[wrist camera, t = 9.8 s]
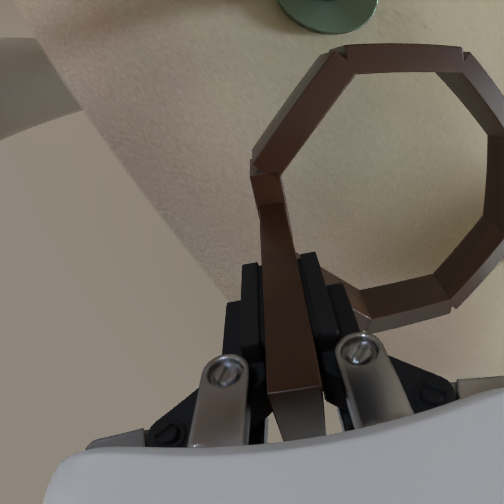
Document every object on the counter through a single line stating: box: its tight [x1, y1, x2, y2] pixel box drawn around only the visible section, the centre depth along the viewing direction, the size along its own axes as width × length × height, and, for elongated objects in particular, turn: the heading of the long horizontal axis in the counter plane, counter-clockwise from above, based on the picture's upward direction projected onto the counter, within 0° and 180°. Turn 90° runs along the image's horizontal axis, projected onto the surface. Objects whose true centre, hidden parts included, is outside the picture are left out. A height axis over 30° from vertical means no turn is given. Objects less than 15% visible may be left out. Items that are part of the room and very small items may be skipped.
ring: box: [250, 43, 504, 442], centre depth 12 cm, size 17×17×13 cm
